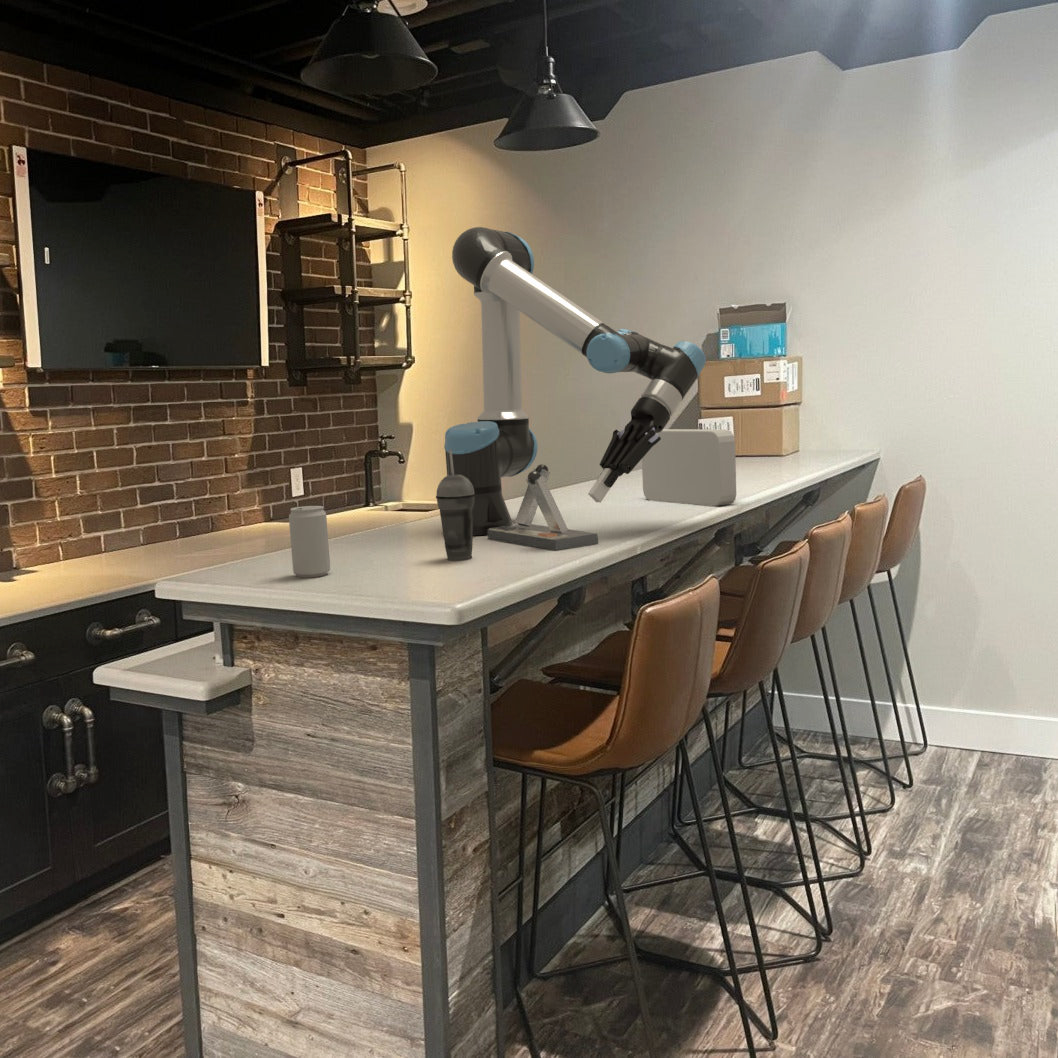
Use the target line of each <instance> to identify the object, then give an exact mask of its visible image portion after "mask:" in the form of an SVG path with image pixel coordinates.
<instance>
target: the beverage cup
mask: <svg viewBox="0 0 1058 1058" xmlns="http://www.w3.org/2000/svg"><path fill="white" fill-rule="evenodd" d="M449 456H450V465H451V474H452V475H448V476H447V475H446V476H445V477H444V478H442V479H441V480H440V482H439V484H438V486H437V487H436V488H437V489H436V495H435V499H436V503H437V506H438V509H439V515H440V521H441V522H440V523H441V528H442V534H443V541H444V547H445V553H446V556H447V557H446V559H447V560H448V561H454V562H455V561H457V562H458V561H466V560H467V561H468V560H471V559H473V558H472V557H473V555H472V554H473V545H474V543H473V536H474V535H473V507H474V502H475V493H474V488H473V485H472V483H471V482H470V481H469V480H468V479H467V478H466V477H465V476H463V475H460V474H454V468H453V459H452V450H449Z"/></svg>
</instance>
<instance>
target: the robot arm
mask: <svg viewBox="0 0 1058 1058" xmlns="http://www.w3.org/2000/svg"><path fill="white" fill-rule="evenodd" d="M453 244H454V245H453V247H452V251H451V252H452V253H451V254H452V255H451V259H452V265H453V267H454V270H455V271H456V272H457V273H458V275H459V276H460V277H462V278H463V280H465V281H466V282H468V283H469V284H471V285H473V295H474V296H475V297H476V298H477V299H478V300H479V302H480V304H481V305H480V308H481V312H480V313H481V345H482V346H481V347H482V348H481V349H482V383H483V385H482V386H483V391H482V392H483V411H482V412H481V413H480V414H479V416H478V417H477V421H471V422H470V421H469V422H466V423H460V424H456V425H453V426H451V427H449V428H448V429H447V430H446V431H445V434H444V448H443V449H444V450H445V451H444V452H445V465H446V466H445V467H446V476H448V475H452V474H451V465H450V456H449V450H452V459H453V468H454V474H460V475H463V476H465V477H466V478H467V479H468V480H469V481H470V482H471V483H472V485H473V488H474V493H475V502H474V507H473V536H485V535H487V536H488V532H487V529H489V528H495V527H502V526H513V524H512V516H511V514H510V512H509V509H508V507H507V504H506V501H505V499H504V496H503V490H502V478H506V477H507V478H508V477H509V478H510V477H511V478H512V477H515V476H517V475H519V474H521V473H523V472H525V471H526V470H528V469H530V467H531V466H532V465H533V464H534V461H536V457H537V453H538V441H537V438H536V435H535V433H534V432H532V430H531V428H530V424H529V423H530V421H529V420H530V418H529V416H528V415H527V414H526V412H525V411H523V404H522V361H521V360H522V358H521V357H522V352H521V313H522V314H523V315H525V316H526V317H528V318H529V319H530V320H532V321H533V322H535V323H537V324H538V325H539V326H541V327H542V328H544V329H545V330H546V331H548V332H549V333H551V334H552V335H554V336H555V337H557V338H558V339H559V340H560V341H562V342H564V343H565V344H566V345H568V346H570V347H571V348H572V349H574V350H575V351H576V352H578V353H580V354H581V355H582V356H584V357H585V358H586V359H587V361H588V363H589V365H590V366H591V367H592V368H593V369H594V370H596V371H598V372H601V373H605V374H616V373H632V372H633V373H635V374H638V375H640V376H643V377H644V378H648V379H649V380H651V381H650V382H649V383H648V385H647V386H646V387H645V389H644V391H643V392H642V394H641V395H640V397H639V398H638V400H637V401H636V403H635V404H634V405H633V407H632V409H631V410H630V417H631V419H630V421H629V422H628V423H626V425H625V426H624V429H622V430H618V429H615V430H614V431H612V436H611V438H610V439H611V440H610V442H609V444H608V446H607V448H606V450H605V452H604V454H603V456H602V458H601V460H600V462H599V466H600V468H602V471H601V473H600V475H598V478H597V479H596V481H595V482H594V484H593V485H592V487H591V488H590V489H589V491H588V493H587V494H588V496H590V497H591V499H592V500H593V501H594V502H595V503H602V501H603V500H604V498H605V497H606V495H607V494H608V493H609V491H610V490H611V488H612V487H613V486H614V484H615V483H616V481H617V480H618V478H619V477H622V476H623V475H624V474H626V475H629V474H630V473H631V472H632V471H633V469H634V468H636V466H637V465H638V464H639V463H640V462H641V461H642V458H643V457H644V456H645V455H646V453H647V452H648V451H649V450H650V449H651V448H652V447H653V446H654V445H655V444H656V443H658V442H659V441H660V440H661V438H660V437H659V435H658V434H657V433H659V432H661V431H662V430H663V429H665V427H666V426H667V424H668V422H669V421H670V419H671V417H672V416H673V414H674V413H675V412H676V411H677V409H678V407H679V405H680V404H681V402H682V401H683V400H684V398H685V396H687V394H688V393H689V391H690V390H691V388H692V387H693V386H694V383H696V381H697V380H698V379H699V377H700V374H701V373H702V371H703V369H704V367H705V365H706V362H707V359H706V354H705V353H704V351H703V349H701V348H700V347H699V346H698V345H697V344H695V343H693V342H690V341H684V340H680V341H678V342H677V343H676V344H675V345H673V346H672V347H670V346H668V345H664V344H661V343H660V342H658V341H655V340H653V339H651V338H649V337H646V336H644V335H641V334H639V333H638V332H637V331H633V330H629V329H626V328H619V329H618V330H617V331H616V330H615V329H614V328H612V327H610V326H608V325H607V324H605V322H603V321H601V320H600V319H598V318H597V316H596V317H595V315H592V314H591V313H589V312H588V311H587V310H585V309H584V308H583V307H581V306H579V305H578V304H577V303H575V302H574V301H572V300H571V299H569V298H568V297H566V296H564V295H563V294H562V293H560V292H559V291H557V290H556V289H555V288H553V287H551V286H550V285H548V284H547V283H546V282H544V281H543V280H541V279H540V278H538V277H537V276H535V275H534V274H533V272H534V267H535V256H534V253H533V250H532V249H531V246H530V245H529V244H528V243H527V241H526V240H525V239H523V238H522V237H520V236H518V235H517V234H514V233H512V232H509V231H502V230H498V229H491V228H488V227H482V226H477V227H471V228H468V229H466V230H465V231H463V232H461V234H460V235H459V236H458V237H457V238H456V240H455V241H454V243H453ZM648 441H649V442H648Z"/></svg>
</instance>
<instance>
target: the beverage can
mask: <svg viewBox="0 0 1058 1058" xmlns="http://www.w3.org/2000/svg"><path fill="white" fill-rule="evenodd" d="M327 518H328V517H327V513H326V511H325V510H324V506H323V505H306V506H297V507H291V508H290V513H289V514H288V523H289V524H288V525H289V535H290V548H291V559H292V560H291V563H292V572H293V574H295V575H296V577H297V578H305V579H307V578H310V579H311V578H320V577H323V576H327V574H328V572H330V571H331V559H330V545H329V533H328V532H329V531H328V521H327V520H328V519H327Z"/></svg>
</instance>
